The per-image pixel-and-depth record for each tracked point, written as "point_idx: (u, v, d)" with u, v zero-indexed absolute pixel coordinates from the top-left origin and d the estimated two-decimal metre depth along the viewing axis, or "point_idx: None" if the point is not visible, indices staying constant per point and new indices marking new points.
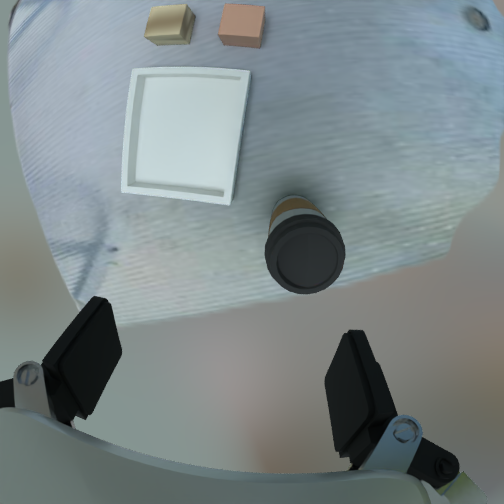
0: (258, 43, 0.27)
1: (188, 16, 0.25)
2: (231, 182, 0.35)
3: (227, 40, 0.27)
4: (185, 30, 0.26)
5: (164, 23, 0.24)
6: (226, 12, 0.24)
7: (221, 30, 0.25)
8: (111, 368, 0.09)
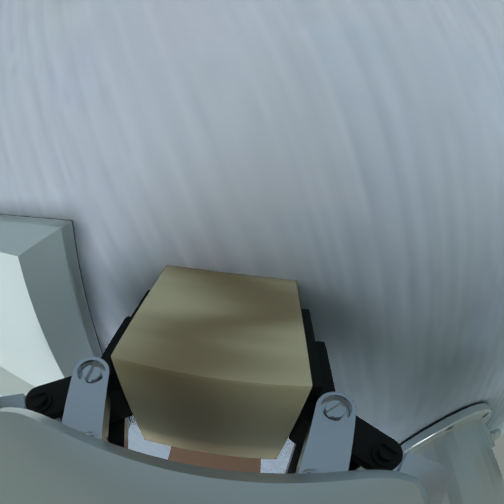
0: None
1: None
2: None
3: None
4: None
5: (189, 423, 0.07)
6: None
7: None
8: None
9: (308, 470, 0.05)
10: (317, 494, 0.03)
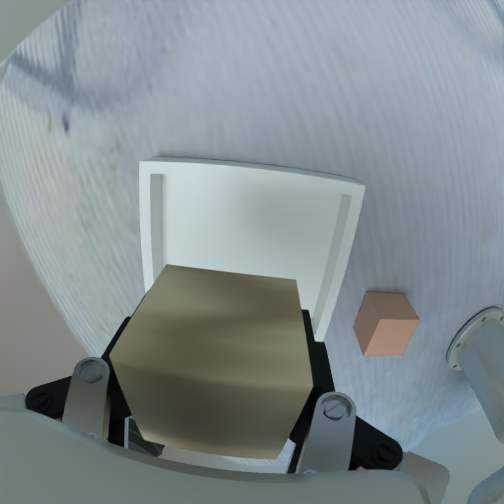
0: (358, 338, 0.28)
1: None
2: None
3: (370, 310, 0.26)
4: None
5: (188, 423, 0.07)
6: (407, 323, 0.24)
7: (384, 321, 0.23)
8: None
9: (308, 470, 0.05)
10: (317, 494, 0.03)
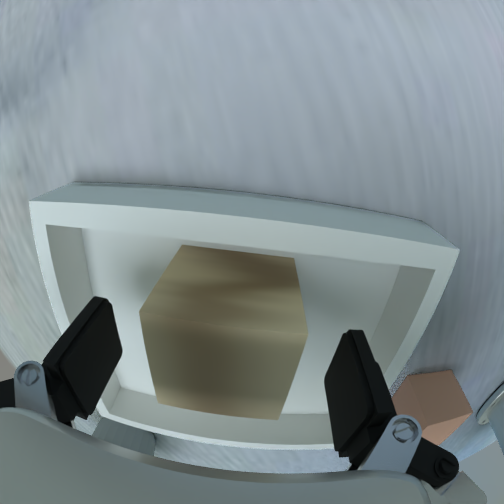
0: None
1: None
2: (137, 426, 0.15)
3: (412, 405, 0.15)
4: None
5: (201, 378, 0.09)
6: (457, 420, 0.12)
7: (431, 426, 0.12)
8: (112, 368, 0.09)
9: None
10: (317, 494, 0.03)
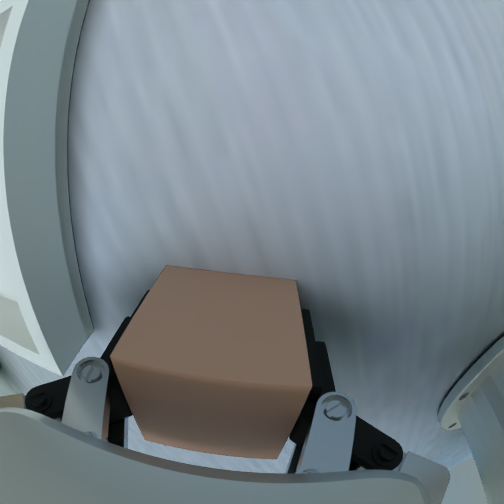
0: None
1: None
2: None
3: None
4: None
5: None
6: (247, 393, 0.06)
7: (132, 370, 0.06)
8: None
9: (308, 470, 0.05)
10: (317, 494, 0.03)
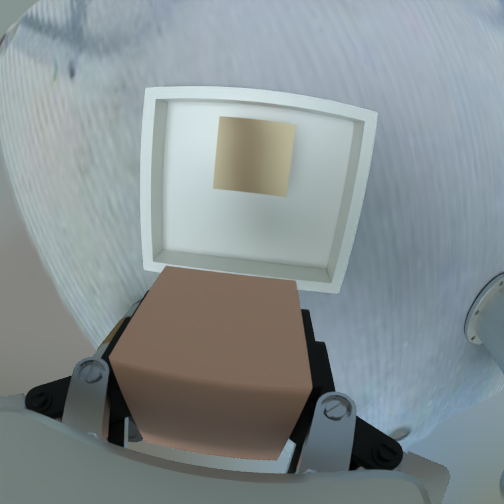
0: None
1: None
2: None
3: None
4: None
5: (244, 156, 0.17)
6: (246, 395, 0.06)
7: (131, 371, 0.06)
8: None
9: (308, 470, 0.05)
10: (317, 494, 0.03)
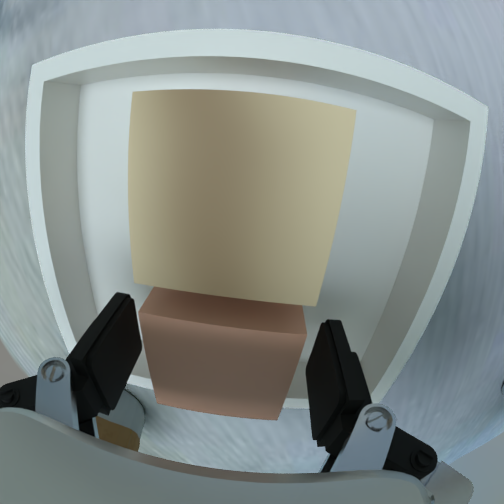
0: None
1: None
2: None
3: None
4: None
5: (203, 204, 0.06)
6: (253, 342, 0.08)
7: (157, 324, 0.08)
8: (132, 363, 0.10)
9: None
10: (317, 494, 0.03)
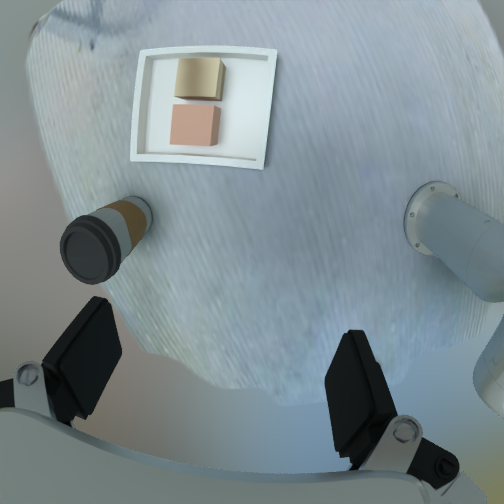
0: None
1: (207, 98, 0.29)
2: (150, 160, 0.33)
3: None
4: (189, 98, 0.29)
5: (191, 77, 0.26)
6: (201, 108, 0.28)
7: (177, 106, 0.28)
8: (111, 368, 0.09)
9: None
10: (317, 494, 0.03)
